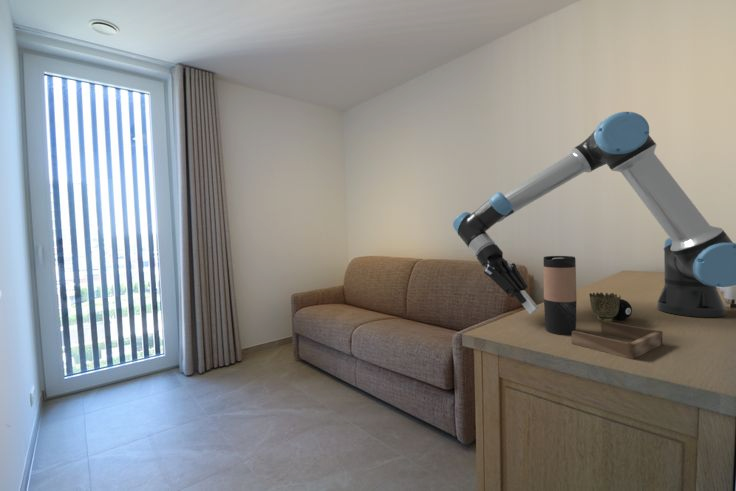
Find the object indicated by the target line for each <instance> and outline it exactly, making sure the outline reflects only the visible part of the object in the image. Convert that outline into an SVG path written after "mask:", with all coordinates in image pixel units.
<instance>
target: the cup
mask: <svg viewBox="0 0 736 491" xmlns="http://www.w3.org/2000/svg"><path fill="white" fill-rule="evenodd" d="M588 295H589V301H590V308H591V311H592V312H593V314H594V315H595V316H597V322H600V323H601V321H608V322H613V320H614V318H612V317H614V316H616V315H617V314H618V311H619V306H620V299H622V296H621V295H619V296H618V295H617V293H614V292H611V293H608V292H605V294H604V293H603V292H600V293H599V292H596V293H595V292H592V293H591V292H590V293H589V294H588Z"/></svg>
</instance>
